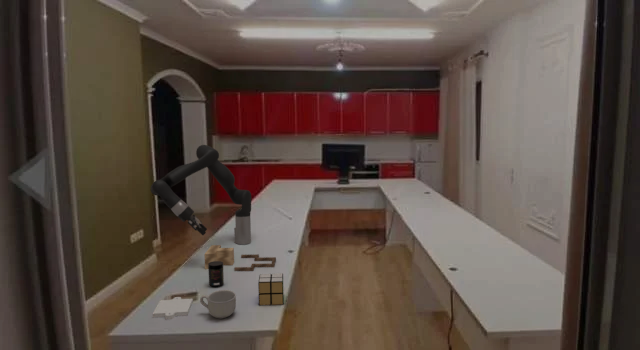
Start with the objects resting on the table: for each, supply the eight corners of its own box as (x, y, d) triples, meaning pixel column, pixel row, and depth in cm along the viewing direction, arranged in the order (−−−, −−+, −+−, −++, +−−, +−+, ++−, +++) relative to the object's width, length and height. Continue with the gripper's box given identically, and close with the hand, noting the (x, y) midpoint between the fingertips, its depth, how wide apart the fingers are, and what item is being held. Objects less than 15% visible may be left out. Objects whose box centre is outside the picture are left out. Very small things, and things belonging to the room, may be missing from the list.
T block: (205, 269, 221) (204, 254, 220) (212, 259, 237) (211, 245, 236) (230, 268, 222) (230, 253, 221) (236, 259, 237) (235, 244, 237)
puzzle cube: (260, 296, 186) (259, 273, 185) (283, 295, 187) (283, 273, 186) (258, 305, 176) (258, 282, 175) (283, 305, 177) (283, 281, 176)
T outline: (234, 271, 218) (234, 268, 218) (241, 257, 241) (241, 254, 241) (273, 270, 219) (273, 267, 218) (276, 256, 241) (276, 254, 241)
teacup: (241, 311, 171) (241, 291, 170) (226, 323, 161) (226, 302, 160) (211, 306, 176) (210, 287, 175) (195, 317, 166) (194, 297, 165)
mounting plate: (161, 302, 181) (161, 297, 181) (193, 300, 183) (193, 296, 183) (151, 321, 164) (150, 316, 163) (186, 319, 165) (186, 314, 165)
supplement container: (222, 281, 203) (221, 260, 202) (225, 286, 197) (224, 264, 196) (207, 284, 201) (207, 262, 200) (210, 289, 195) (209, 266, 193)
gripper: (186, 207, 216) (209, 230, 219) (189, 203, 230) (211, 224, 233) (175, 218, 215) (198, 240, 218) (178, 213, 229) (201, 234, 232)
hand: (205, 232), depth 226 cm, fingers open, 8 cm apart
